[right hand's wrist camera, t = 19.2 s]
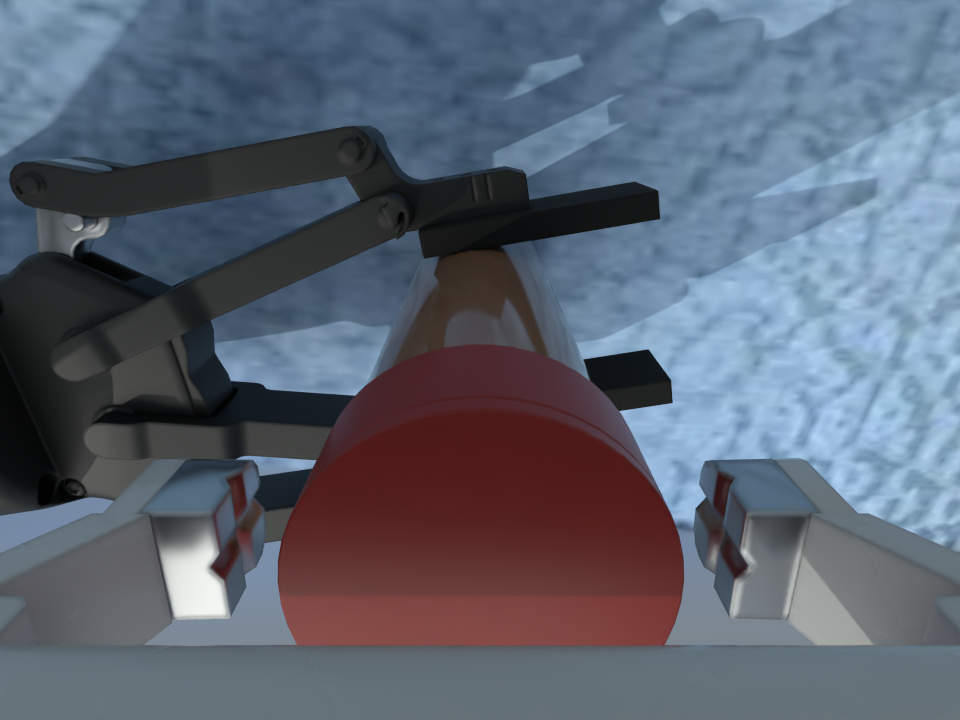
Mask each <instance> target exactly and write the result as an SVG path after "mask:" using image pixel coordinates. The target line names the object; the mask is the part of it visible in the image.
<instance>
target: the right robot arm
mask: <svg viewBox="0 0 960 720" xmlns="http://www.w3.org/2000/svg"><path fill="white" fill-rule="evenodd" d="M260 485H261V482H260V476H259V471H258V466H257V465H256V463H255V462H254V461H253V460H231V459H189V458H174V459H157V460H154V461H153V462H152V463H151V464H150V465H149V466H148V467H147V468H146V469H145V470H144V471H143V472H142V473H141V474H140V475H139V476H138V477H137V478H136V479H135V480H134V481H133V482H132V483H131V484H130V485H129V486H128V488H127V489H126V490H125V491H124V492H123V493H122V494H121V495H120V496H119V497H118V498H117V499H116V500H115V501H114V502H113V503H112V504H111V505H110V506H109V507H108V508H107V509H106V510H105V511H104V512H103V513H102V514H90V515H87V516H85V517H83V518H80V519H78V520H76V521H73V522H71V523H69V524H67V525H64V526H62V527H60V528H57V529H55V530H53V531H50V532H48V533H46V534H44V535H41V536H39V537H37V538H34V539H32V540H30V541H27V542H25V543H23V544H20V545H18V546H16V547H14V548H11V549H9V550H6V551H4V552H2V553H0V720H960V553H958V552H956V551H953V550H951V549H949V548H946V547H944V546H942V545H940V544H937V543H935V542H933V541H930V540H928V539H926V538H923V537H921V536H919V535H917V534H914V533H912V532H910V531H907V530H905V529H903V528H900V527H898V526H896V525H894V524H891V523H889V522H887V521H884V520H882V519H880V518H877V517H875V516H873V515H870V514H858V513H857V512H856V511H855V510H854V509H853V508H852V507H851V506H850V505H849V504H848V503H847V502H846V501H845V500H844V499H843V498H842V497H841V496H840V495H839V493H838V492H837V491H836V490H835V489H834V488H833V487H832V486H831V485H830V484H829V483H828V482H827V481H826V480H825V479H824V478H823V477H822V476H821V475H820V474H819V473H818V472H817V471H816V470H815V469H814V468H813V467H812V466H811V465H810V464H809V463H808V462H807V461H806V460H803V459H800V458H787V459H742V460H710V461H705V463H704V465H703V468H702V470H701V476H700V482H699V485H700V487H701V489H702V490H703V492H704V494H705V495H706V498H705V499H704V500H703V501H702V502H701V503H700V504H699V506H698V507H697V508H696V511H695V520H694V535H695V545H696V548H697V552H698V555H699V558H700V560H701V562H702V564H703V566H704V567H705V568H706V569H708V570H709V571H711V572H712V573H714V574H715V575H716V576H715V582H714V588H715V590H716V592H717V594H718V596H719V598H720V600H721V602H722V604H723V606H724V608H725V609H726V611H727V613H728V615H729V617H730V618H742V619H778V620H788V623H789V624H791V625H792V626H793V627H795V628H796V629H797V630H798V631H800V632H801V633H802V634H803V635H805V636H806V637H807V638H809V639H810V640H811V641H812V642H813V643H815V644H816V645H144V644H146V643H147V642H148V641H149V640H151V639H152V638H153V637H154V636H156V635H157V634H158V633H159V632H161V631H162V630H163V629H165V628H166V627H167V626H168V625H170V624H171V623H172V620H182V619H217V618H231V616H232V614H233V612H234V610H235V608H236V606H237V604H238V602H239V600H240V598H241V596H242V594H243V592H244V590H245V588H246V582H245V574H246V573H248V572H249V571H251V570H252V569H254V568H255V567H256V566H257V564H258V562H259V560H260V558H261V556H262V552H263V548H264V543H265V538H266V518H265V510H264V508H263V507H262V505H261V504H260V503H259V502H258V501H257V500H256V499H255V498H254V495H255V494H256V492H257V490H258V489H259V487H260Z"/></svg>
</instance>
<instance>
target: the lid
mask: <svg viewBox="0 0 960 720" xmlns="http://www.w3.org/2000/svg"><path fill="white" fill-rule="evenodd" d="M683 584H684V560H683V553H682V548H681V543H680V538H679V534H678V531H677V529H676V526H675V523H674V521H673V518H672V515H671V513H670V511H669V509H668V507H667V505H666V503H665V501H664V499H663V496H662V494H661V492H660V490H659V488H658V486H657V484H656V482H655V480H654V478H653V476H652V474H651V472H650V470H649V468H648V466H647V463H646V461H645V459H644V457H643V455H642V453H641V451H640V449H639V447H638V445H637V443H636V441H635V439H634V437H633V435H632V433H631V431H630V429H629V427H628V425H627V424H626V422H625V420H624V418H623V416H622V415H621V413H620V412H619V411H618V409H617V408H616V407H615V406H614V404H613V403H612V402H611V400H610V399H609V398H608V397H607V396H606V395H605V394H604V393H603V392H602V391H601V390H600V389H599V388H598V387H597V386H596V385H595V384H593V383H592V382H591V381H589V380H588V379H587V378H585V377H584V376H583V375H581V374H580V373H578V372H577V371H575V370H574V369H572V368H570V367H568V366H566V365H564V364H562V363H561V362H559V361H557V360H554V359H552V358H549V357H546V356H544V355H541V354H539V353H536V352H532V351H528V350H524V349H520V348H516V347H509V346H500V345H492V344H476V345H461V346H453V347H446V348H441V349H438V350H434V351H430V352H426V353H422V354H420V355H417V356H415V357H413V358H410V359H408V360H405V361H403V362H401V363H399V364H397V365H395V366H394V367H392V368H390V369H388V370H386V371H385V372H383V373H382V374H380V375H379V376H378V377H376V378H375V379H374V380H372V381H371V382H370V383H368V384H367V385H366V386H365V387H364V388H363V389H362V390H361V391H360V392H359V393H358V394H357V395H356V396H355V397H354V398H353V399H352V400H351V401H350V402H349V403H348V405H347V406H346V407H345V409H344V410H343V412H342V413H341V414H340V416H339V417H338V419H337V421H336V423H335V424H334V426H333V428H332V430H331V432H330V434H329V436H328V438H327V440H326V442H325V444H324V446H323V448H322V450H321V452H320V454H319V457H318V459H317V461H316V463H315V465H314V467H313V469H312V471H311V473H310V475H309V477H308V479H307V481H306V484H305V486H304V488H303V490H302V492H301V494H300V496H299V498H298V500H297V503H296V504H295V506H294V509H293V511H292V513H291V515H290V517H289V520H288V523H287V525H286V528H285V531H284V534H283V537H282V541H281V547H280V552H279V558H278V586H279V593H280V600H281V605H282V609H283V612H284V615H285V618H286V621H287V625H288V627H289V629H290V631H291V633H292V635H293V637H294V639H295V641H296V643H297V645H664V644H665V643H666V641H667V639H668V637H669V635H670V632H671V630H672V628H673V626H674V624H675V621H676V618H677V614H678V611H679V607H680V604H681V599H682V592H683Z"/></svg>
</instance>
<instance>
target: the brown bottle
mask: <svg viewBox="0 0 960 720" xmlns="http://www.w3.org/2000/svg"><path fill="white" fill-rule="evenodd" d="M476 344H492V345H500V346H509V347H516V348H520V349H524V350H528V351H532V352H536V353H539V354H541V355H544V356H546V357H549V358H552V359H554V360H557V361H559V362H561V363H562V364H564V365H566V366H568V367H570V368H572V369H574V370H575V371H577V372H578V373H580V374H581V375H583V376H584V377H585V378H587V379H588V380H589V381H591V382H592V383H593V381H592V379H591V377H590V374H589V372H588V370H587V368H586V365H585V363H584V361H583V358H582V356H581V354H580V351H579V349H578V347H577V344H576V342H575V340H574V337H573V335H572V333H571V330H570V328H569V326H568V324H567V321H566V319H565V317H564V314H563V312H562V310H561V307H560V305H559V303H558V300H557V298H556V296H555V293H554V291H553V289H552V286H551V284H550V282H549V279H548V277H547V275H546V273H545V270H544V268H543V266H542V263H541V261H540V259H539V256H538V254H537V252H536V249H535V247H534V245H533V243H532V241H527V242H521V243H515V244H509V245H503V246H497V247H491V248H485V249H479V250H474V251H467V252H462V253H456V254H450V255H444V256H438V257H432V258H426V259H424V257H423V255H422V257H421V260H420V262H419V264H418V267H417V269H416V271H415V274H414V276H413V279H412V281H411V283H410V286H409V288H408V290H407V293H406V295H405V297H404V300H403V302H402V304H401V307H400V309H399V311H398V314H397V316H396V318H395V321H394V323H393V325H392V328H391V330H390V332H389V335H388V337H387V339H386V342H385V344H384V346H383V349H382V351H381V353H380V356H379V358H378V360H377V363H376V365H375V367H374V370H373V372H372V374H371V377H370V379H369V381H368V383H370V382H371V381H372V380H374V379H375V378H376V377H378V376H379V375H380V374H382V373H383V372H385V371H386V370H388V369H390V368H392V367H394V366H395V365H397V364H399V363H401V362H403V361H405V360H408V359H410V358H413V357H415V356H417V355H420V354H422V353H426V352H430V351H434V350H438V349H441V348H446V347H453V346H461V345H476Z"/></svg>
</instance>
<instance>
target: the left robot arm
mask: <svg viewBox="0 0 960 720" xmlns="http://www.w3.org/2000/svg"><path fill="white" fill-rule="evenodd" d="M343 176H346V177H347V179H348V180H349V182H350V184H351V185H352V187H353V188H354V190H355V192H356V193H357V195H358V196H359V198H360V201H357V202H355V203H353V204H351V205H349V206H347V207H344V208H342V209H340V210H338V211H336V212H334V213H331V214H329V215H327V216H325V217H323V218H320V219H318V220H316V221H314V222H312V223H310V224H307V225H305V226H303V227H301V228H299V229H297V230H294V231H292V232H290V233H288V234H286V235H284V236H281V237H279V238H277V239H275V240H273V241H271V242H268V243H266V244H264V245H262V246H260V247H258V248H255V249H253V250H251V251H249V252H247V253H245V254H242V255H240V256H238V257H236V258H234V259H232V260H229V261H227V262H225V263H223V264H221V265H218V266H215V267H213V268H211V269H209V270H206V271H204V272H202V273H200V274H198V275H196V276H193V277H191V278H189V279H187V280H185V281H183V282H180V283H178V284H176V285H174V286H172V287H171V286H169V285H167V284H165V283H162V282H160V281H158V280H156V279H153V278H151V277H149V276H147V275H144V274H142V273H140V272H138V271H135V270H133V269H131V268H129V267H126V266H124V265H122V264H120V263H117V262H115V261H113V260H111V259H108V258H106V257H104V256H102V255H99V254H97V253H95V252H93V251H91V245H92V243H93V241H94V240H95V239H96V238H100V237H103V236H106V235H110V234H113V233H116V232H118V231H120V230H121V229H122V228H123V226H124V224H125V222H126V217H127V216H129V215H135V214H140V213H146V212H151V211H157V210H162V209H168V208H173V207H179V206H184V205H190V204H195V203H201V202H206V201H212V200H217V199H223V198H228V197H234V196H239V195H245V194H250V193H256V192H261V191H267V190H272V189H278V188H283V187H288V186H294V185H299V184H305V183H310V182H316V181H321V180H327V179H332V178H338V177H343ZM9 181H10V185H11V189H12V191H13V192H14V194H15V195H16V197H17V198H18V199H19V200H20V201H22V202H23V203H24V204H26V205H28V206H31V207H34V208H36V222H37V237H38V252H39V253H36V254H33V255H31V256H29V257H27V258H25V259H24V260H23V261H22V262H20V263H19V265H18V266H17V267H16V268H15V269H14V270H13V271H11V272H10V273H9V274H3V275H0V516H1V515H7V514H14V513H20V512H27V511H34V510H40V509H45V508H50V507H54V506H58V505H62V504H65V503H69V502H72V501H76V500H79V499H83V498H88V497H96V498H104V499H109V500H113V501H115V500H116V499H117V498H118V497H119V496H120V495H121V494H122V493H123V492H124V491H125V490H126V489H127V488H128V486H129V485H130V484H131V483H132V482H133V481H134V480H135V479H136V478H137V477H138V476H139V475H140V474H141V473H142V472H143V471H144V470H145V469H146V468H147V467H148V466H149V465H150V464H151V463H152V462H153V461H154V460H157V459H174V458H189V459H231V460H235V459H237V458H239V457H242V456H262V457H277V458H292V459H307V460H317V459H318V457H319V454H320V452H321V450H322V448H323V446H324V444H325V442H326V440H327V438H328V436H329V434H330V432H331V430H332V428H333V426H334V424H335V423H336V421H337V419H338V417H339V416H340V414H341V413H342V412H343V410H344V409H345V407H346V406H347V405H348V403H349V402H350V401H351V400H352V399H353V398H354V397H355V396H350V395H336V394H321V393H307V392H293V391H279V390H268V389H266V388H265V387H264V386H263V385H262V384H259V383H250V382H236V381H230V378H229V375H228V373H227V371H226V370H225V368H224V367H223V365H222V364H221V362H220V361H219V359H218V357H217V356H216V354H215V347H214V330H213V327H212V324H211V321H210V320H212V319H214V318H216V317H218V316H221V315H223V314H225V313H227V312H230V311H232V310H234V309H236V308H239V307H241V306H243V305H245V304H247V303H250V302H252V301H254V300H256V299H259V298H261V297H263V296H265V295H268V294H270V293H272V292H274V291H277V290H279V289H281V288H283V287H285V286H288V285H290V284H292V283H294V282H297V281H299V280H301V279H303V278H306V277H308V276H310V275H312V274H314V273H317V272H319V271H321V270H323V269H326V268H328V267H330V266H332V265H335V264H337V263H339V262H341V261H344V260H346V259H348V258H350V257H352V256H355V255H357V254H359V253H361V252H364V251H366V250H368V249H370V248H373V247H375V246H377V245H379V244H382V243H384V242H386V241H388V240H390V239H393V238H395V237H396V239H399V238H400V237H402V236H403V235H404V234H405V232H409V231H415V230H419V237H420V242H421V247H422V252H423V257H424V259H426V258H432V257H438V256H444V255H450V254H456V253H462V252H467V251H474V250H479V249H485V248H491V247H497V246H503V245H509V244H515V243H521V242H527V241H533V240H539V239H545V238H551V237H557V236H562V235H568V234H574V233H580V232H586V231H592V230H598V229H604V228H610V227H616V226H622V225H628V224H634V223H639V222H645V221H651V220H657V219H660V210H659V196H658V191H657V190H655V189H652V188H650V187H647V186H645V185H642V184H640V183H637V182H630V183H624V184H619V185H613V186H607V187H601V188H596V189H590V190H584V191H578V192H572V193H567V194H561V195H555V196H549V197H543V198H538V199H532V200H529V195H528V187H527V180H526V174H525V173H524V171H523V170H519V169H515V168H510V167H506V166H503V167H497V168H492V169H486V170H480V171H475V172H469V173H463V174H458V175H452V176H446V177H440V178H435V179H429V180H417V179H413V178H411V177H409V176H407V175H406V174H405V173H404V172H403V171H402V170H401V169H400V167H399V166H398V164H397V163H396V161H395V159H394V158H393V156H392V154H391V152H390V151H389V149H388V147H387V143H386V141H385V138H384V136H383V135H382V134H381V133H380V132H379V131H378V130H377V129H375V128H373V127H371V126H349V127H341V128H336V129H331V130H325V131H320V132H315V133H309V134H304V135H299V136H293V137H288V138H283V139H277V140H272V141H267V142H261V143H256V144H251V145H245V146H240V147H235V148H229V149H224V150H219V151H213V152H208V153H202V154H197V155H192V156H186V157H181V158H176V159H170V160H165V161H160V162H154V163H149V164H144V165H138V166H130V165H125V164H119V163H114V162H108V161H103V160H97V159H92V158H86V157H74V158H61V159H50V160H41V161H29V162H21V163H19V164H18V165H16V166H14V168H13V169H12V171H11V172H10V180H9ZM583 361H584V363H585V365H586V368H587V370H588V372H589V374H590V377H591V379H592V381H593V384H595V385H596V386H597V387H598V388H599V389H600V390H601V391H602V392H603V393H604V394H605V395H606V396H607V397H608V398H609V399H610V400H611V402H612V403H613V404H614V406H615V407H616V408H617V409H618V411H622V410H629V409H636V408H642V407H649V406H656V405H662V404H669V403H673V402H672V387H671V379H670V378H669V377H668V375H667V374H666V373H665V371H664V370H663V369H662V367H661V366H660V365H659V363H658V362H657V360H656V359H655V358H654V356H653V355H652V354H651V352H650V351H649V350H641V351H635V352H629V353H622V354H616V355H609V356H603V357H597V358H590V359H584V360H583ZM311 471H312V469H306V470H300V471H293V472H286V473H279V474H272V475H265V476H260V482H261V485H260V487H259V489H258V490H257V492H256V494H255V495H254V498H255V499H256V500H257V501H258V502H259V503H260V504H261V505H262V507H263V508H264V510H265V518H266V538H265V543H267V542H275V541H282V537H283V534H284V531H285V528H286V525H287V523H288V520H289V517H290V515H291V513H292V511H293V509H294V506H295V504H296V503H297V500H298V498H299V496H300V494H301V492H302V490H303V488H304V486H305V484H306V481H307V479H308V477H309V475H310V473H311Z"/></svg>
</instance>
